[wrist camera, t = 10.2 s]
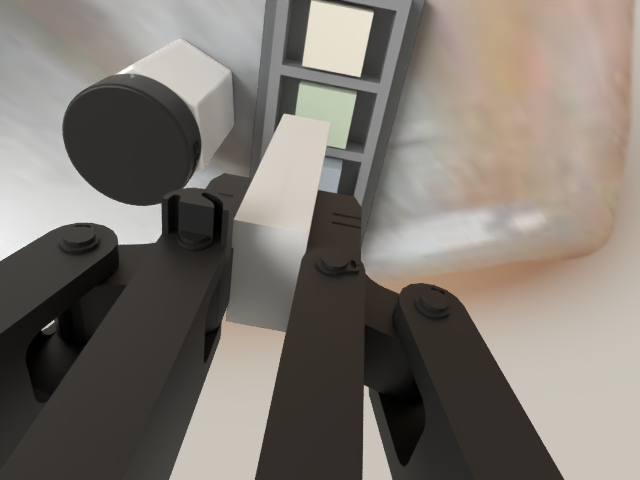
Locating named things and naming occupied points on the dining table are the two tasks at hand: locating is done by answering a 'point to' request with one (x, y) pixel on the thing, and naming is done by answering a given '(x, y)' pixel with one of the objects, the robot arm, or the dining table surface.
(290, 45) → the grey compartment tray
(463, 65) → the dining table surface
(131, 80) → the jar
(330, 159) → the key slate
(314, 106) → the key sage
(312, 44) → the key cream
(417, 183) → the dining table surface
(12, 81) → the dining table surface
